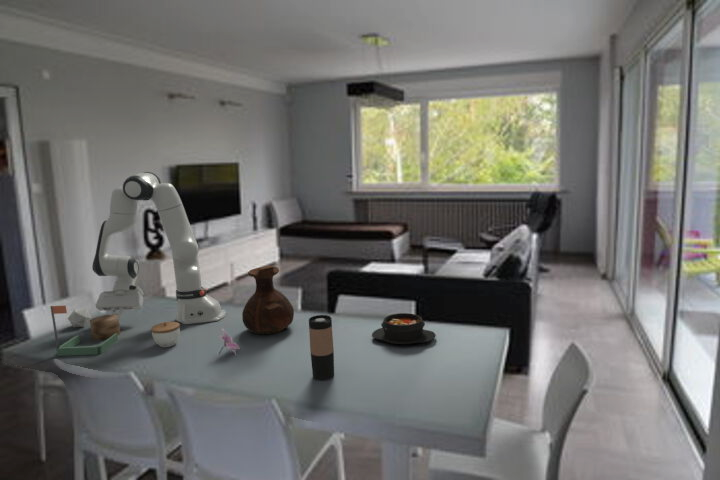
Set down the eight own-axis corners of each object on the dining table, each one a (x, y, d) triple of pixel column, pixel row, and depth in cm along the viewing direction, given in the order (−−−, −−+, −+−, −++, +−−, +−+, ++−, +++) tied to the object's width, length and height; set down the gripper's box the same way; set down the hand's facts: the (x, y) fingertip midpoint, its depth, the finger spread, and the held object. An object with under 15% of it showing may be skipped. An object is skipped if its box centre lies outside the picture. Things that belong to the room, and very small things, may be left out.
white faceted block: (76, 331, 226) (88, 312, 228) (60, 322, 227) (73, 303, 228) (86, 332, 234) (98, 313, 236) (71, 322, 235) (82, 304, 237)
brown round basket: (125, 330, 223) (122, 314, 222) (112, 339, 212) (110, 322, 211) (100, 331, 223) (98, 315, 222) (87, 340, 213) (84, 323, 211)
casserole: (439, 333, 202) (438, 313, 201) (431, 351, 185) (430, 329, 183) (379, 329, 210) (378, 309, 208) (366, 346, 192) (365, 325, 191)
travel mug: (312, 371, 172) (308, 315, 168) (334, 370, 172) (331, 314, 169) (312, 381, 164) (308, 323, 161) (335, 380, 165) (332, 321, 161)
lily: (224, 364, 184) (235, 342, 184) (202, 349, 188) (213, 328, 188) (240, 361, 195) (250, 340, 194) (219, 347, 198) (229, 327, 198)
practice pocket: (118, 340, 211) (111, 294, 207) (100, 354, 197) (93, 304, 193) (78, 341, 211) (71, 295, 208) (57, 355, 197) (49, 306, 193)
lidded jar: (187, 341, 206) (184, 319, 205) (167, 351, 197) (164, 328, 195) (167, 338, 211) (165, 316, 209) (147, 347, 201) (144, 325, 199)
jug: (232, 336, 209) (225, 266, 204) (261, 319, 229) (255, 255, 224) (277, 341, 201) (272, 268, 196) (303, 323, 221) (299, 256, 215)
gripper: (97, 288, 232) (89, 315, 224) (141, 286, 232) (134, 313, 224) (104, 294, 237) (95, 321, 229) (147, 293, 237) (140, 320, 229)
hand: (115, 317), depth 227 cm, fingers closed
